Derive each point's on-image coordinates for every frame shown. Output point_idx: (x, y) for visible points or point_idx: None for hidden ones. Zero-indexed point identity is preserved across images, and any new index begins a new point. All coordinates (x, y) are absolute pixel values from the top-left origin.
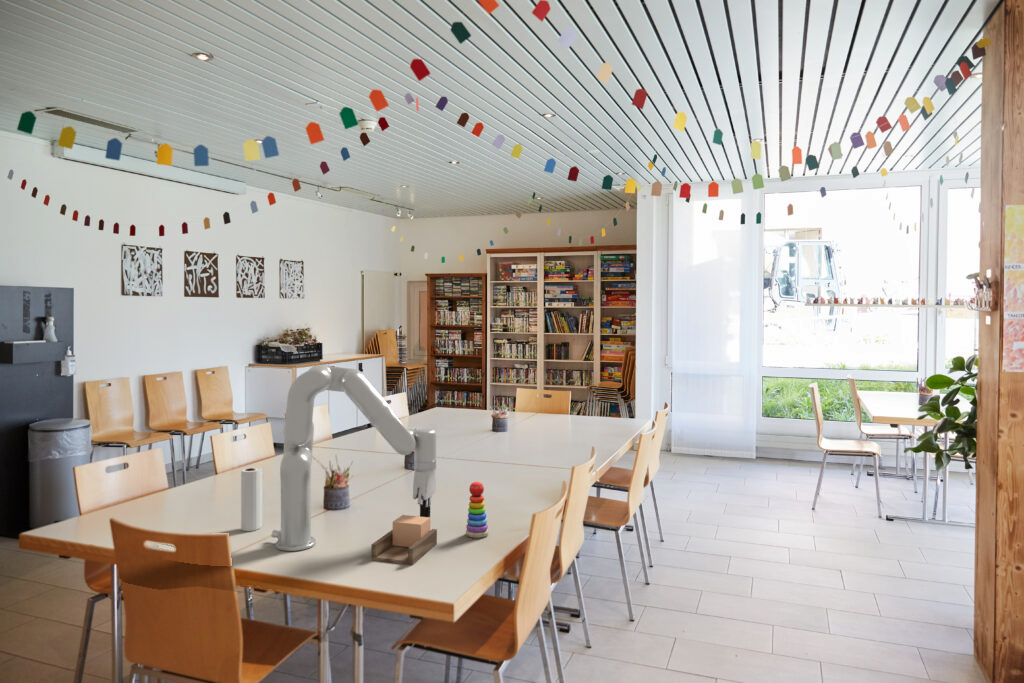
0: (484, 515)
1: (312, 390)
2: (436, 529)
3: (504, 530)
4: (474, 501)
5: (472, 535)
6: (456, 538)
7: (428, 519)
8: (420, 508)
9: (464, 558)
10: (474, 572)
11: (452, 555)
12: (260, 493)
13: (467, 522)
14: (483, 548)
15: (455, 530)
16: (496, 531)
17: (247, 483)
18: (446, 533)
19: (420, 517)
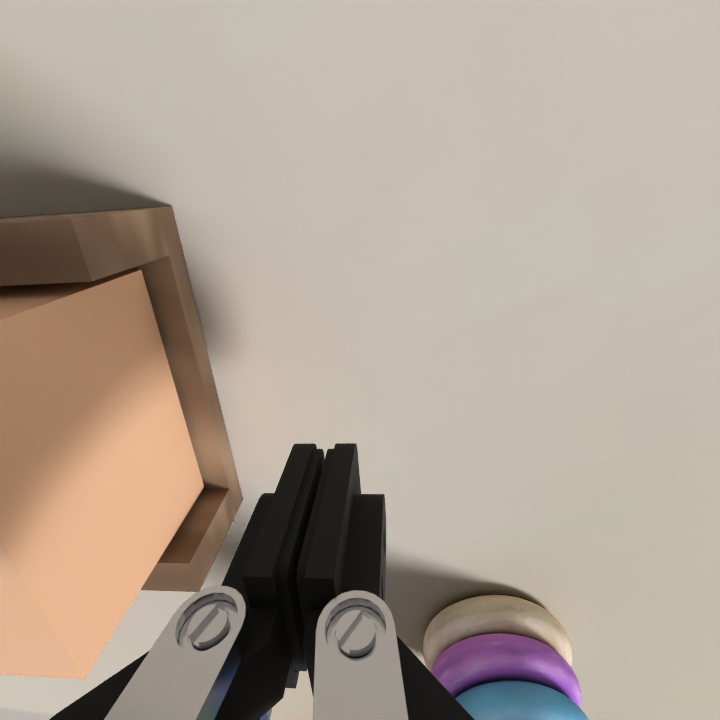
0: None
1: None
2: (193, 590)
3: (609, 713)
4: None
5: (424, 644)
6: (392, 561)
7: (37, 669)
8: (255, 549)
9: (138, 648)
10: (39, 696)
11: (137, 604)
12: None
13: (476, 699)
14: (298, 682)
15: (558, 517)
16: (583, 690)
17: None
18: (473, 486)
19: (7, 604)
